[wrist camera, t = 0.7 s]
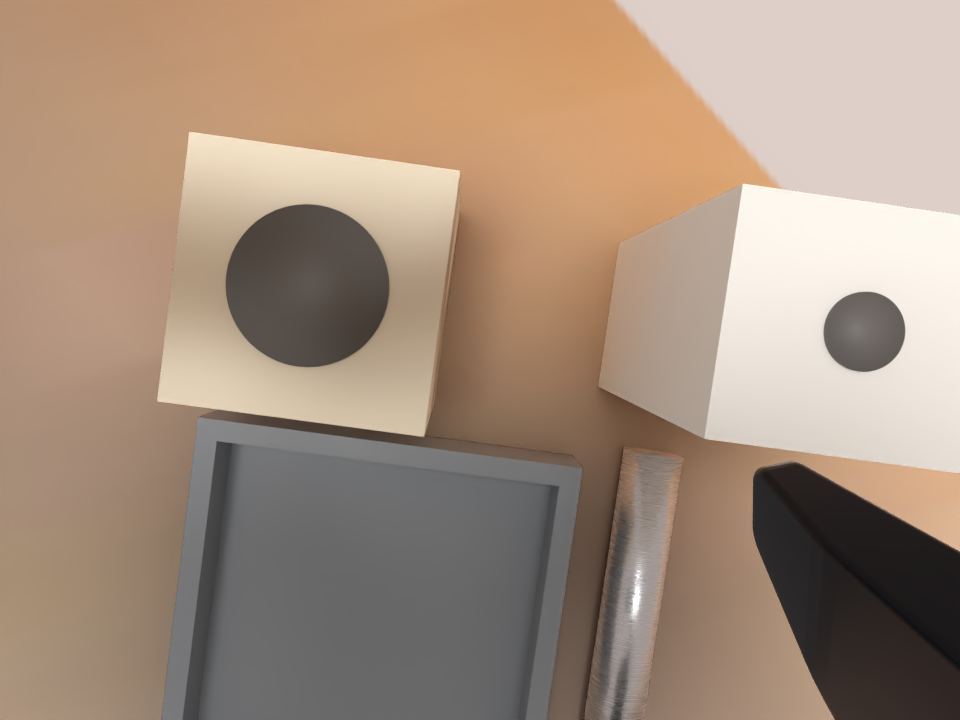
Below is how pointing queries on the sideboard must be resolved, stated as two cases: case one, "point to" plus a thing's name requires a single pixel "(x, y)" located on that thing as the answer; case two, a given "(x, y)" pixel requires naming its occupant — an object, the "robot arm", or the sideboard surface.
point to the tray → (367, 575)
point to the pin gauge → (633, 584)
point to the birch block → (309, 285)
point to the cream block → (795, 326)
